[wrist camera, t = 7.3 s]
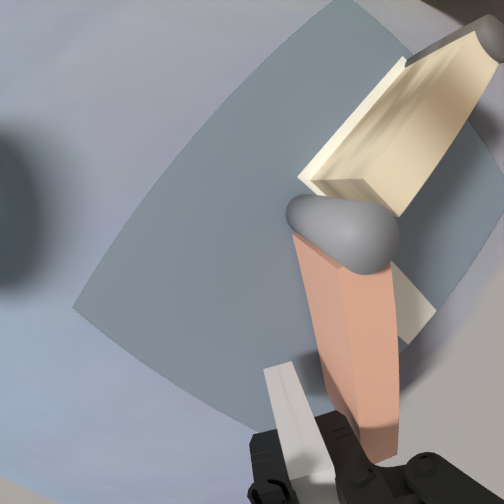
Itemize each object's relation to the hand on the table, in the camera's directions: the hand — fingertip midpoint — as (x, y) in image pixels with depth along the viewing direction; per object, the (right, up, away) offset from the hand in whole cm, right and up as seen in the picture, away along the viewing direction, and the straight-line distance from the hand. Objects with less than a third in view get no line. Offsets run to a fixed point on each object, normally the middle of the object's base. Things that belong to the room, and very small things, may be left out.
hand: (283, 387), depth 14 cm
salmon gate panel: (+2, +4, +1) cm, 5 cm away
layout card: (+2, +7, +2) cm, 7 cm away
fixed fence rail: (+5, +13, 0) cm, 14 cm away
